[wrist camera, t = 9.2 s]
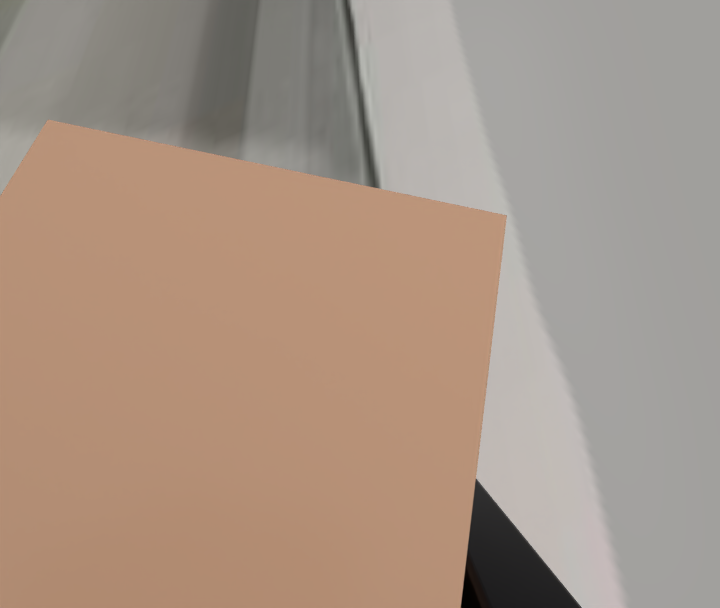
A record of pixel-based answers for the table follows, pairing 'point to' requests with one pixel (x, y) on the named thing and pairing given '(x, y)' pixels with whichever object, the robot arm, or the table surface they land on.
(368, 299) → the cover box
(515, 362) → the table surface
